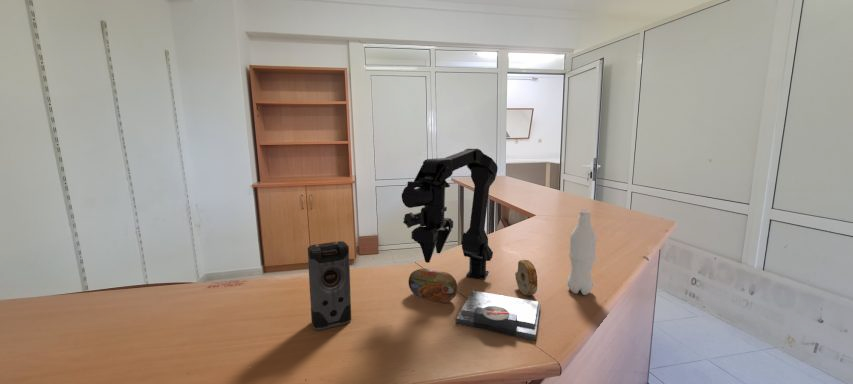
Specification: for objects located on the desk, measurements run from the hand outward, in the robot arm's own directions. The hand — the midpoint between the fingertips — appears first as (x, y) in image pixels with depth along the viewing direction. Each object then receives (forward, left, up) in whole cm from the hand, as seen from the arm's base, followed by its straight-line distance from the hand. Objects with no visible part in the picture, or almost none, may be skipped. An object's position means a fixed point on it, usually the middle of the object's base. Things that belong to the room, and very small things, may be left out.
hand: (433, 257), depth 95 cm
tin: (0, 0, -13) cm, 13 cm away
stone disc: (-14, +25, -13) cm, 31 cm away
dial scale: (+3, +20, -12) cm, 24 cm away
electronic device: (+22, -19, -13) cm, 32 cm away
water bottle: (-21, +40, -13) cm, 47 cm away
